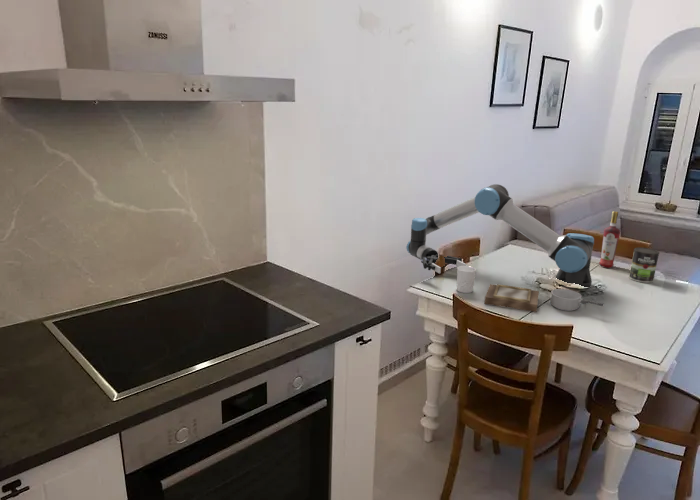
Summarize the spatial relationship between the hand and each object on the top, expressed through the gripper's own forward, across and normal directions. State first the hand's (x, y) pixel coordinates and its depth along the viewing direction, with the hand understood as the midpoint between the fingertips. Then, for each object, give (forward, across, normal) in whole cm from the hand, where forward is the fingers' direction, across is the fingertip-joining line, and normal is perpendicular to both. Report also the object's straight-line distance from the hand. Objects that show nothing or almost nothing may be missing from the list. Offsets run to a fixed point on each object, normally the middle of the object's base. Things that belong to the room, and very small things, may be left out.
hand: (452, 268), depth 229 cm
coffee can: (+28, -87, -6) cm, 92 cm away
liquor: (+8, -87, -6) cm, 88 cm away
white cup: (+10, 0, -7) cm, 12 cm away
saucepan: (+43, -29, -7) cm, 53 cm away
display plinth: (+27, -11, -6) cm, 30 cm away
